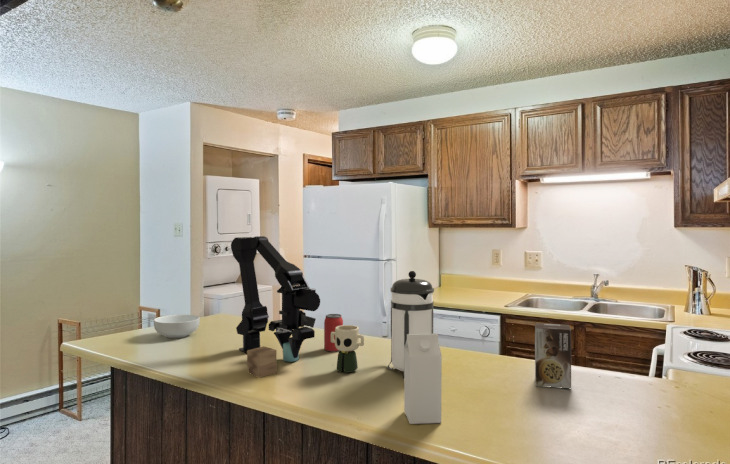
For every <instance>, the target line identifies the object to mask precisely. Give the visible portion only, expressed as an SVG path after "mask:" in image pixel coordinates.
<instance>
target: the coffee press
mask: <svg viewBox="0 0 730 464" xmlns="http://www.w3.org/2000/svg"><path fill="white" fill-rule="evenodd" d="M407 274H408V277H409V278H402V279H398V280H396V281H394V282H393V284H392V286H391V287H390V293H391V300H390V337H391V340H390V342H391V344H390V345H391V347H390V348H391V349H390V350H391V351H390V352H391V354H390V356H391V357H390V359H391V360H390V362H389V364H388V365H387V369H388V370H390V371H391V370H393V369H394V368H395V369H396V370H398V371H401V372H404V347H405V344H406V340H407V334H434V300H433V299H434V298H433V295H434V293H435V288H433V285H432V283H431V282H430V281H428V280H425V279H422V278H421V279H420V278H416V276H417V274H416V272H415V270H414V271H413V270H410V271H409V272H408V273H407ZM391 364H392V366H393V367H390V365H391ZM402 379H403V380H404V373H403V374H402Z"/></svg>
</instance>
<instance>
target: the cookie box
mask: <svg viewBox="0 0 730 464" xmlns="http://www.w3.org/2000/svg"><path fill="white" fill-rule="evenodd" d="M534 384H535V385H537V386H536V387H540V386H551V387H562V388H571V389H572V329H571V327H570V324H564V323H563V324H562V323H561V324H559V323H542V322H541V323H540V322H536V323H535V324H534Z"/></svg>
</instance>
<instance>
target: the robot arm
mask: <svg viewBox="0 0 730 464" xmlns="http://www.w3.org/2000/svg"><path fill="white" fill-rule="evenodd" d="M230 248H231V252H232V257H233V258H234V259H235V260H236V262H237V263H238V265H239V272H240V278H241V285H242V293H243V300H244V306H243V309H242V311H241V321H240V322H239V323H238V325H237V326H236V327H235V328H236V329H235V330H236V334H237V335H240V336H241V335H242V347H240V348H238V351H241V352H243V353H245V354H247V350H251V349H255V348H259V347H261V333H262V332H265V331H266V328H267V325H268V331H271V332H273V334H274V336H275V337H276V339H277V342H278V343H279V345H280V348H281V350H283V343H286V342H289V343H290V347H291V350H292V354H293V357H294V358H297V357H298V353H299V354H300V349H301V348H302V347H301V346H302V344H303V342H304V341H305V340H308V339H313V338H315V329H313V328H314V326H315V323H316V318H315V317H312V316H308V315H307V314H306V312H304V311H309V312H315V311H318V309H319V308H320V304H321V298H320V296H319V294H318V293H317V292H316V288H310V286H309V284H308V282H307V280H306V278H305V276H304V274H303V273H304V272H303V270H302V269H301V268H299V267H298V266H297V265H296V264H294V263H291V262H289V261H287V260H286V259H285V257H284V256H282V255H281V253H280V252H279V251H278V250H277V249H276V247H275V246H273V244H272V243H271V242H270V241H269V239H268V237H267V236H265V235H263V236H262V235H260V236H258V235H257V236H253V237H251V236H244V237H243V236H242V237H234V238H233V239H232V241H231V242H230ZM257 253H259V255H260V256H261V257H262V258H263V259H264V261H265V262H266V263H267V264H268V265H269V266H270V267H271V268H272V270H273V272H274V277H275V279H276V281H277V282H278V284H279V285H280V287H279V288H278V289H277V290H276V292H277V293H278V294H281V310H279V311H278V312H279V313H278V314H279V315H281V319H278V320H271V321H270V322H269V317H270V316H269V313H268V307H267V305H263V304H262V303H261V301H260V295H259V287H258V281H257V275H256V269H255V262H254V261H255V259H256V255H257ZM303 310H304V311H303Z"/></svg>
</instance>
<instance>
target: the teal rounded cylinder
mask: <svg viewBox="0 0 730 464" xmlns="http://www.w3.org/2000/svg"><path fill="white" fill-rule="evenodd" d="M299 357H300V352H299V353H298V357H297V358H294V357H293V354H292V350H291V347H290V343H289V342H286V343H283V349H282V361H284V362H290V363H291V362H293V363H294V362H298V361H299V360H300V359H299Z"/></svg>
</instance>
